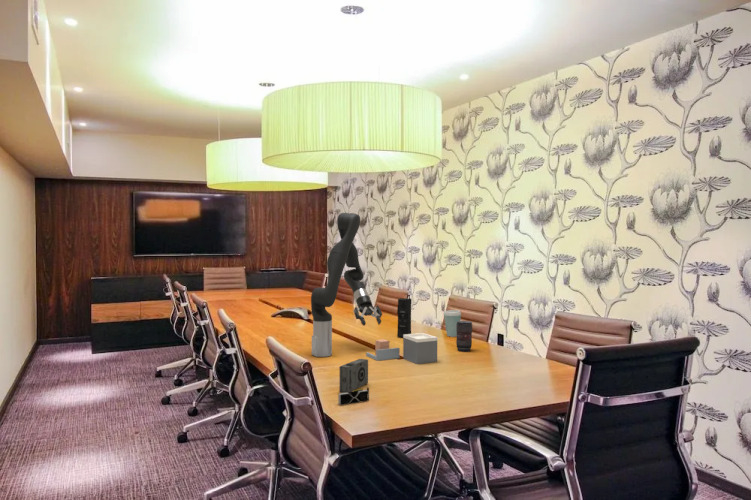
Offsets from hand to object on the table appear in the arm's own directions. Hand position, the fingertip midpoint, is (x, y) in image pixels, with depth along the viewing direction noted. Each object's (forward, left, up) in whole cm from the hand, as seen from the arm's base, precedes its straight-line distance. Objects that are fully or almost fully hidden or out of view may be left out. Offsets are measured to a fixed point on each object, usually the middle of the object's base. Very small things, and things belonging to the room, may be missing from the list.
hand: (372, 324), depth 272 cm
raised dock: (+13, -25, -14) cm, 32 cm away
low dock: (0, -11, -14) cm, 18 cm away
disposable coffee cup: (+63, +21, -15) cm, 68 cm away
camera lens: (+45, -16, -15) cm, 50 cm away
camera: (-35, -55, -15) cm, 67 cm away
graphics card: (-42, -72, -15) cm, 84 cm away
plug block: (0, -11, -14) cm, 18 cm away
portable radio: (+35, +30, -15) cm, 48 cm away
